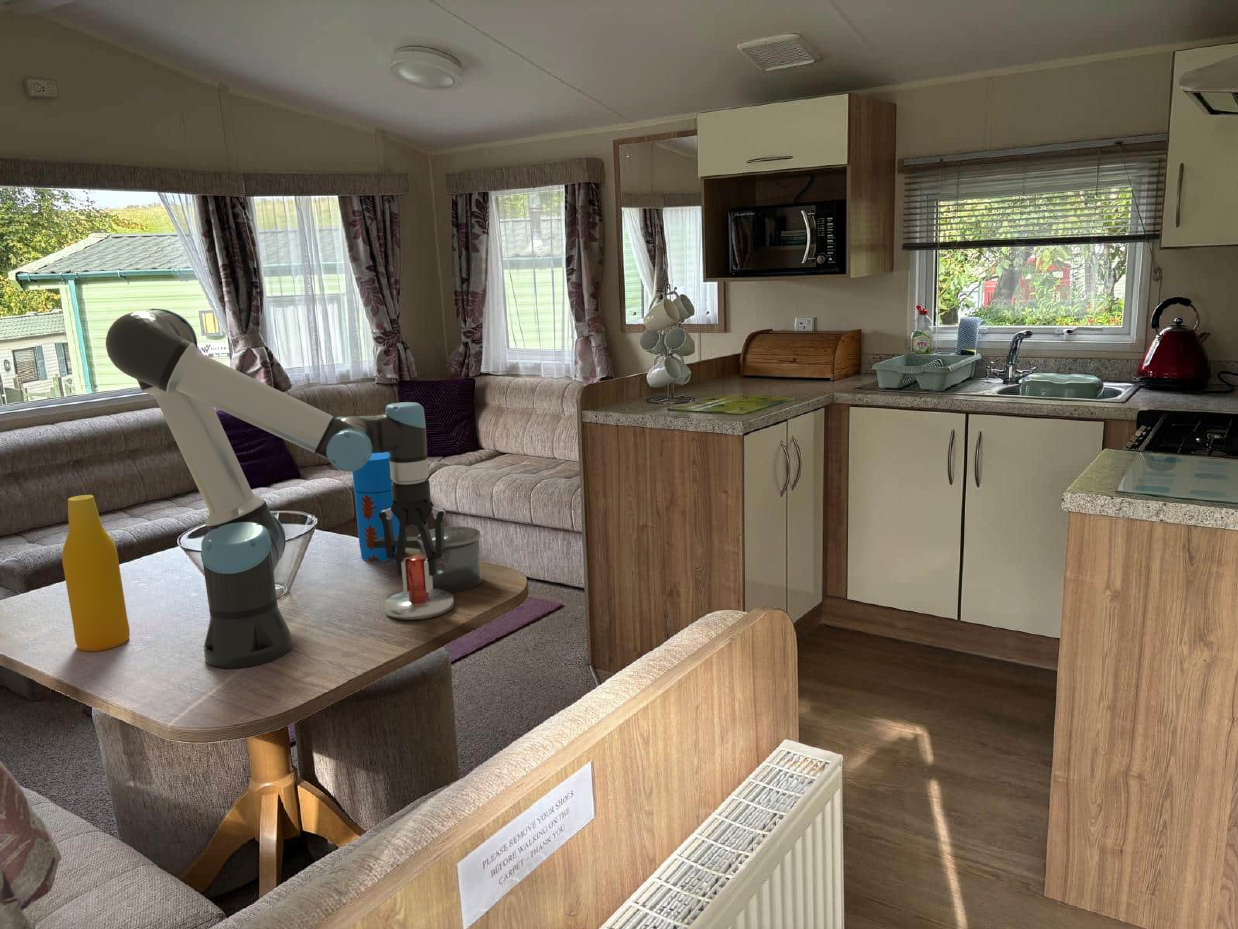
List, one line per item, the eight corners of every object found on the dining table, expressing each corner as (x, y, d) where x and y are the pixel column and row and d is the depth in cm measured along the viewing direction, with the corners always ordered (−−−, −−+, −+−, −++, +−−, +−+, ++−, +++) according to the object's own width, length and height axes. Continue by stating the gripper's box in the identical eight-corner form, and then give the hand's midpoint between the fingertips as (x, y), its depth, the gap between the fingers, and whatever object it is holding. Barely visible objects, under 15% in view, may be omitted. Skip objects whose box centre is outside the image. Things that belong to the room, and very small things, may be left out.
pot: (476, 592, 200) (473, 543, 198) (370, 594, 201) (365, 545, 199) (488, 571, 213) (485, 525, 211) (388, 573, 215) (384, 527, 212)
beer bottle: (65, 648, 177) (40, 501, 170) (109, 630, 185) (86, 490, 179) (98, 655, 173) (74, 505, 167) (141, 637, 181) (119, 493, 175)
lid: (445, 619, 184) (441, 569, 182) (376, 620, 185) (371, 570, 183) (460, 595, 198) (457, 548, 196) (395, 595, 199) (391, 548, 196)
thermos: (352, 561, 224) (343, 460, 219) (371, 547, 235) (363, 451, 229) (394, 562, 223) (386, 460, 217) (412, 548, 233) (404, 451, 227)
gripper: (456, 475, 189) (463, 583, 194) (374, 476, 190) (382, 584, 195) (447, 483, 182) (455, 596, 187) (362, 484, 182) (372, 596, 187)
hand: (418, 590), depth 191 cm, fingers closed on lid, 4 cm apart
